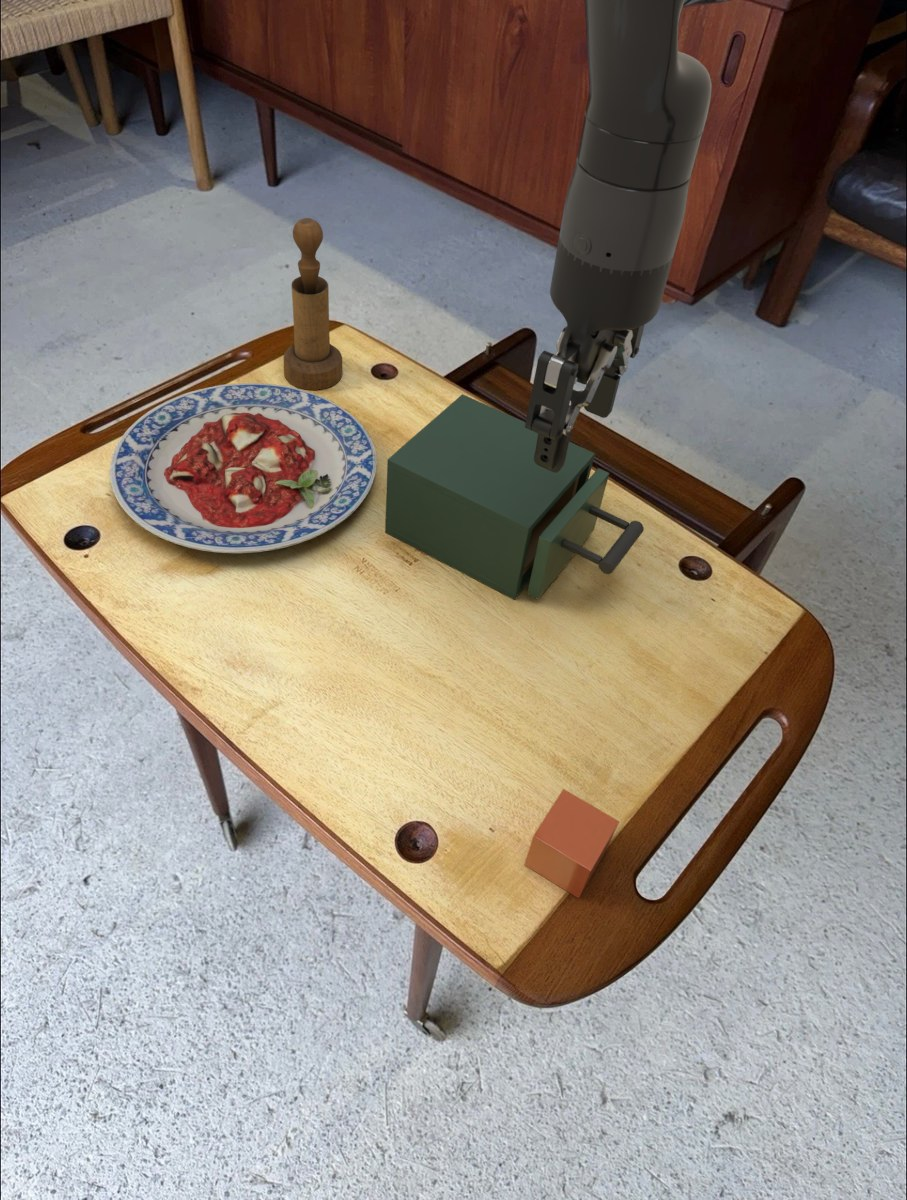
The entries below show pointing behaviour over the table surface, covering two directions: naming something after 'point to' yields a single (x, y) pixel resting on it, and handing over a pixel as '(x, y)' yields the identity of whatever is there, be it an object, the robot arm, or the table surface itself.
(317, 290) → the mortar and pestle
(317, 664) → the table surface
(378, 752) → the table surface
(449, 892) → the table surface
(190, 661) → the table surface
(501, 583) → the cabinet
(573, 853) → the block
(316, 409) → the ceramic plate
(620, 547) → the drawer
